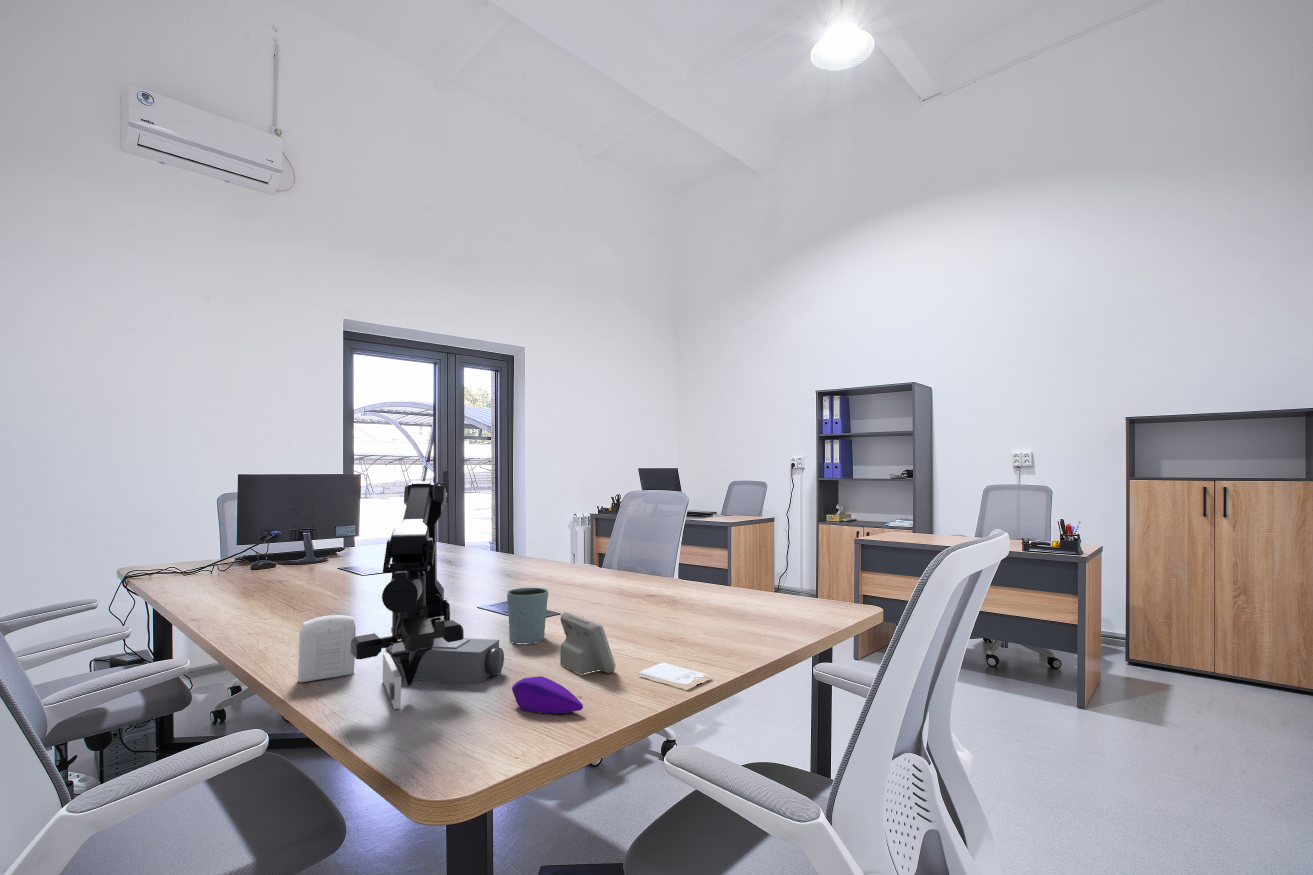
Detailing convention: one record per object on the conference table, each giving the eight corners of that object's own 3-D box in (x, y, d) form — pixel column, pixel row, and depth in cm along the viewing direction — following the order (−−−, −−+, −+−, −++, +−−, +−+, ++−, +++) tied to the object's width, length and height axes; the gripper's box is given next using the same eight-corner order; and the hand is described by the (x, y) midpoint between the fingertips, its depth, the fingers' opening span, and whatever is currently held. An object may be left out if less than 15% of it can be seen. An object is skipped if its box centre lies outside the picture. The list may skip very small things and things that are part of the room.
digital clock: (618, 675, 124) (618, 622, 124) (576, 681, 120) (576, 627, 120) (592, 653, 138) (592, 606, 139) (554, 658, 134) (554, 610, 135)
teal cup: (499, 644, 146) (500, 594, 147) (516, 632, 156) (516, 586, 157) (539, 645, 144) (539, 595, 145) (553, 634, 154) (553, 587, 155)
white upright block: (353, 669, 128) (354, 610, 129) (355, 674, 124) (357, 614, 125) (297, 678, 122) (298, 617, 123) (298, 684, 119) (300, 621, 119)
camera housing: (412, 663, 131) (412, 634, 131) (507, 668, 128) (508, 638, 128) (387, 677, 122) (388, 646, 123) (489, 683, 119) (490, 651, 119)
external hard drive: (663, 669, 129) (711, 681, 121) (638, 679, 123) (686, 693, 115) (663, 661, 129) (711, 673, 121) (638, 671, 123) (686, 685, 115)
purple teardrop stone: (577, 698, 101) (505, 677, 107) (574, 727, 101) (502, 704, 107) (591, 688, 105) (521, 668, 111) (588, 716, 105) (518, 695, 111)
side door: (390, 678, 121) (390, 650, 122) (403, 707, 106) (404, 676, 107) (379, 679, 120) (379, 652, 121) (390, 709, 105) (391, 678, 106)
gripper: (363, 616, 99) (363, 712, 99) (474, 599, 111) (474, 685, 110) (350, 605, 108) (349, 692, 107) (453, 590, 120) (453, 670, 119)
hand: (408, 685), depth 111 cm, fingers closed
